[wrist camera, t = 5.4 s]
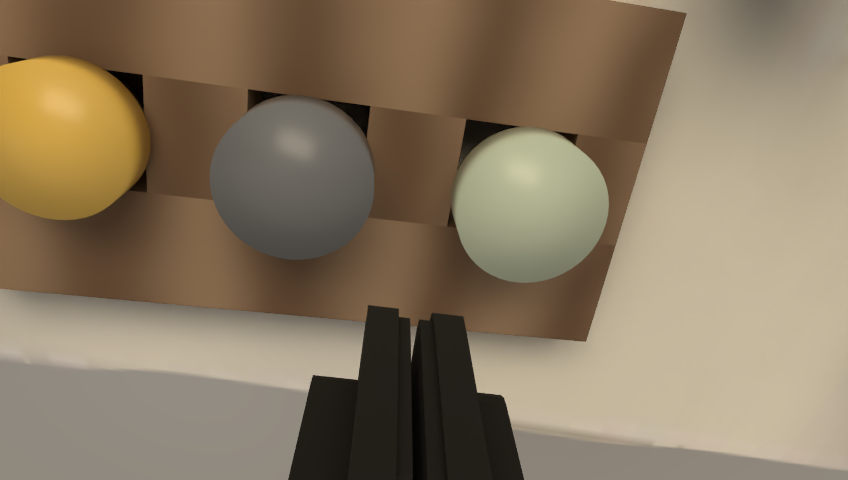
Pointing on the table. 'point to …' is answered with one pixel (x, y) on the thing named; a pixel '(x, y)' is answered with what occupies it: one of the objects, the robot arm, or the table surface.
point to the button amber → (68, 137)
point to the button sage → (528, 204)
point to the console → (386, 133)
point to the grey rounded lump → (293, 177)
